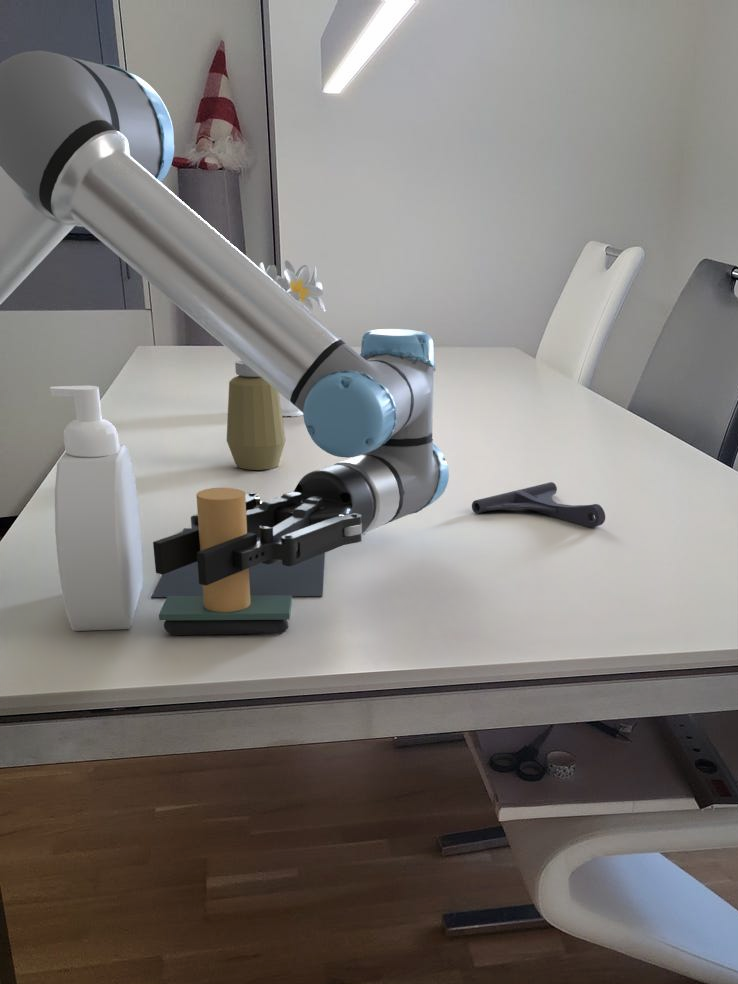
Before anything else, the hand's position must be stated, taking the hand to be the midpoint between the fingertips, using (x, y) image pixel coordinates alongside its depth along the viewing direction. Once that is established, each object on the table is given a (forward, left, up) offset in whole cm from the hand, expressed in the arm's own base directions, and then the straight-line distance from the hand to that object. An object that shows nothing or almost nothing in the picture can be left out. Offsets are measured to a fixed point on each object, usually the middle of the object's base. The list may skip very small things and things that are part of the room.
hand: (179, 563), depth 84 cm
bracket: (+39, +40, -8) cm, 56 cm away
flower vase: (+4, +102, -8) cm, 102 cm away
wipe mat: (+3, +23, -7) cm, 24 cm away
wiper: (+3, +4, -7) cm, 9 cm away
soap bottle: (-8, +9, -8) cm, 15 cm away
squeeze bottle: (+1, +64, -8) cm, 64 cm away
